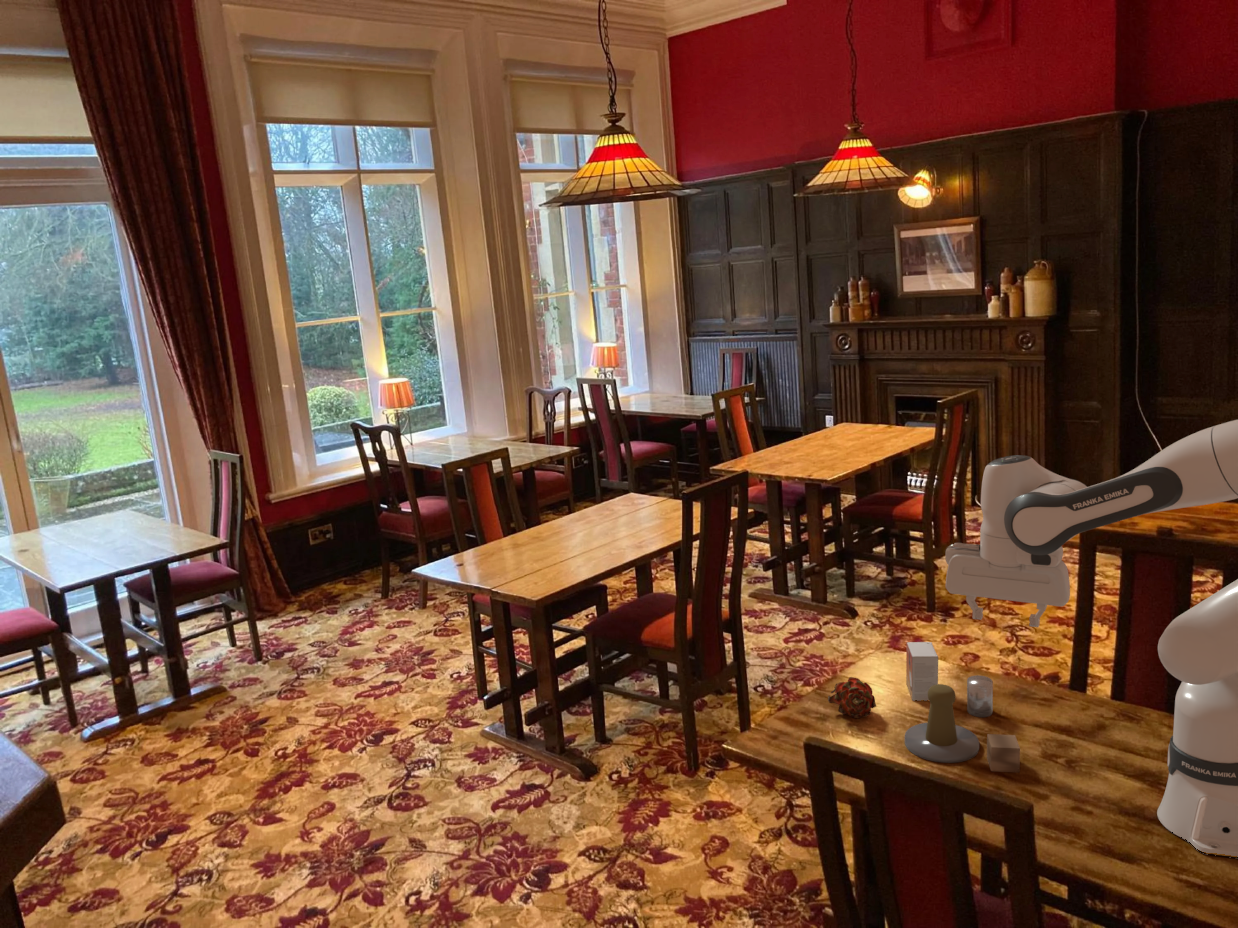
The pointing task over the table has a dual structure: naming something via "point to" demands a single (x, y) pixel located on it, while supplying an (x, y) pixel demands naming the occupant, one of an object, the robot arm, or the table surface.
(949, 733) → the cork
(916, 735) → the smooth pebble
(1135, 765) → the table surface
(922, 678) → the small box
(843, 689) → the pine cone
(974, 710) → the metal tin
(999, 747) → the light brown cube
